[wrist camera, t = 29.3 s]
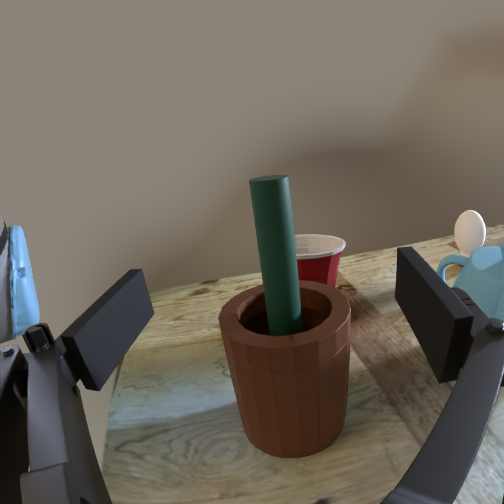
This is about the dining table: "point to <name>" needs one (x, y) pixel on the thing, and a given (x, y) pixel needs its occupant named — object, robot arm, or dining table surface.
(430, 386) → the dining table surface
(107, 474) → the dining table surface
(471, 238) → the light bulb
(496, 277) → the decorative pot
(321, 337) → the brown mortar
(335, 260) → the plastic cup
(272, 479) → the dining table surface
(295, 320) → the green peg on base
